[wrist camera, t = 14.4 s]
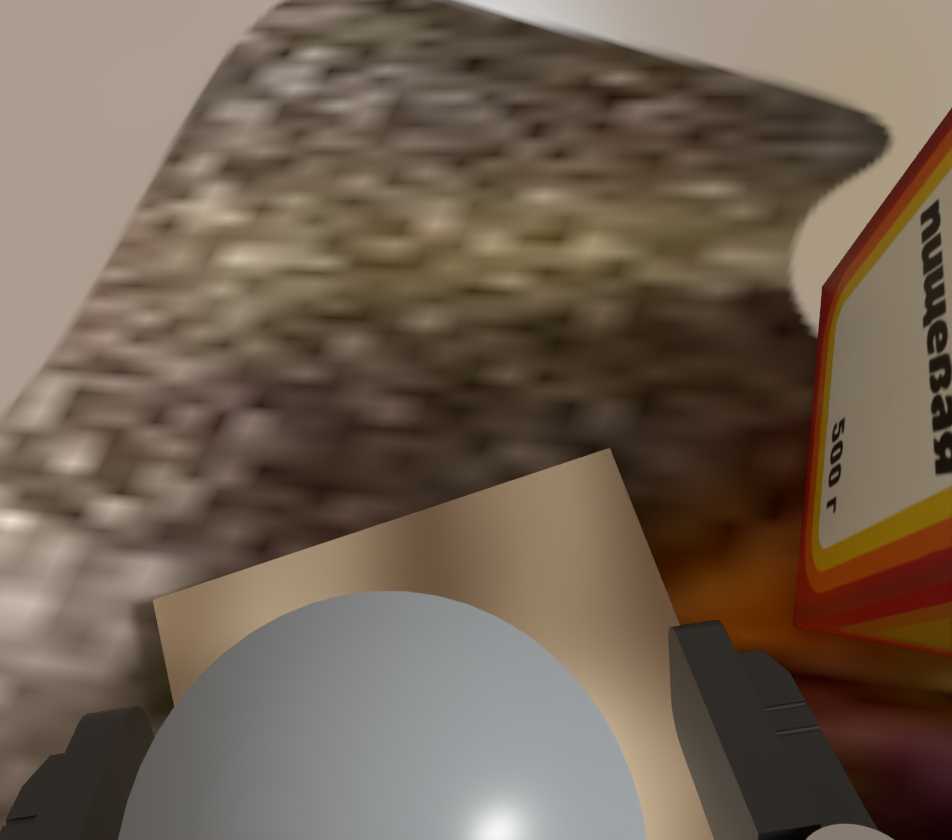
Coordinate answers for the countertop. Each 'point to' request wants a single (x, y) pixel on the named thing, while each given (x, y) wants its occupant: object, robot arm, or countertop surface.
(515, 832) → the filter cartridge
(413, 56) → the countertop surface
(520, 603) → the birch pad
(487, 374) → the countertop surface
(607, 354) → the countertop surface
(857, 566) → the baking soda box
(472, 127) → the countertop surface
